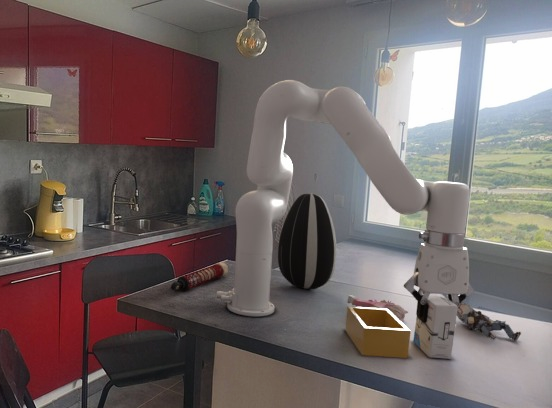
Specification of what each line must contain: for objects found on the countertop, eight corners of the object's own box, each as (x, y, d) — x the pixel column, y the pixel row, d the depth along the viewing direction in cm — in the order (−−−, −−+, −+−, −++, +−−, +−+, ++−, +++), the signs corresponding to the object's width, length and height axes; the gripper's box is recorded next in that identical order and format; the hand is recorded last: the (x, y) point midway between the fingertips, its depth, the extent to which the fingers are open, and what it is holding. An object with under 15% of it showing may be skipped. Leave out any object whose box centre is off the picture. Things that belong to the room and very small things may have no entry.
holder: (361, 355, 96) (364, 327, 95) (345, 330, 109) (347, 306, 108) (407, 358, 95) (410, 330, 95) (385, 332, 109) (387, 308, 108)
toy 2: (486, 337, 104) (437, 306, 118) (508, 358, 109) (459, 326, 123) (505, 314, 104) (454, 286, 118) (527, 336, 109) (476, 306, 122)
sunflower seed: (337, 290, 143) (345, 195, 139) (327, 297, 134) (336, 197, 131) (282, 278, 152) (288, 190, 149) (269, 285, 144) (276, 191, 140)
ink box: (412, 341, 104) (417, 291, 103) (434, 342, 104) (439, 293, 103) (428, 358, 96) (435, 304, 94) (452, 359, 96) (459, 305, 94)
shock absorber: (181, 285, 127) (235, 265, 152) (169, 275, 129) (224, 257, 154) (175, 298, 129) (230, 276, 154) (164, 289, 131) (219, 269, 156)
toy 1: (340, 313, 122) (396, 337, 113) (344, 294, 120) (401, 316, 111) (353, 302, 128) (407, 323, 119) (356, 283, 126) (412, 304, 117)
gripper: (411, 240, 94) (402, 325, 96) (494, 245, 93) (483, 330, 95) (397, 234, 101) (389, 312, 103) (474, 238, 101) (465, 317, 103)
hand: (435, 320), depth 99 cm, fingers closed on ink box, 5 cm apart
